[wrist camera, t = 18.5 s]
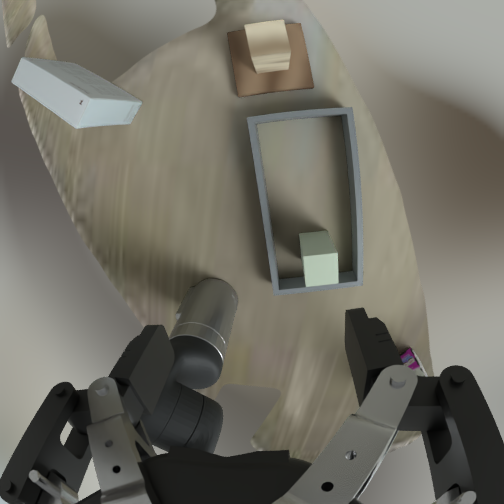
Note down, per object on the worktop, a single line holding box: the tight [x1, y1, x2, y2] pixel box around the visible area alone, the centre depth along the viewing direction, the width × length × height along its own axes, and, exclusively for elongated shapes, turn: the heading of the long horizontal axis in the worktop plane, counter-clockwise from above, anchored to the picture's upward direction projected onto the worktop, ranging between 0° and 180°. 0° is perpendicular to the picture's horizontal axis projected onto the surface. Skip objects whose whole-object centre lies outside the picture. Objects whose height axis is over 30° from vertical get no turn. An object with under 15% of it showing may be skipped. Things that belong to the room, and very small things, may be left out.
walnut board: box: [227, 23, 314, 98], centre depth 37 cm, size 12×12×2 cm
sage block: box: [299, 230, 339, 287], centre depth 45 cm, size 5×5×10 cm
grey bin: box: [247, 107, 363, 295], centre depth 45 cm, size 16×30×4 cm, turn 9°
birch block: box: [244, 20, 291, 74], centre depth 32 cm, size 5×5×10 cm
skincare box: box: [12, 57, 142, 129], centre depth 34 cm, size 21×5×16 cm, turn 54°
